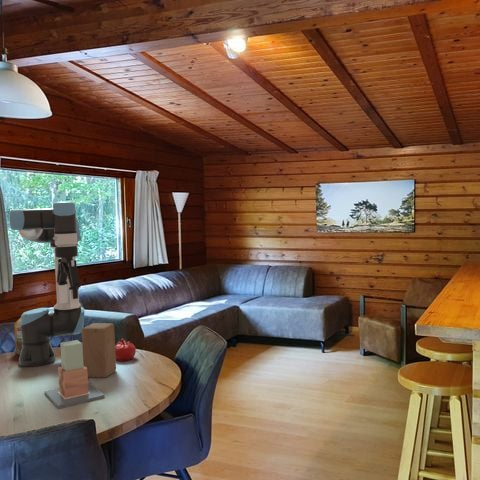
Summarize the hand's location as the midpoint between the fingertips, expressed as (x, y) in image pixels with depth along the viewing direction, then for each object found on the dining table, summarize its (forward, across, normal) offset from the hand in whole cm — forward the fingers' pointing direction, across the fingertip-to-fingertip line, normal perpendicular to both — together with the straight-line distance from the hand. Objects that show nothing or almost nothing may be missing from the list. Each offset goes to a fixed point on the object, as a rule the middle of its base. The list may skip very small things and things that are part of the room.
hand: (69, 305), depth 183 cm
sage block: (+22, 0, 0) cm, 22 cm away
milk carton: (+33, -72, +2) cm, 79 cm away
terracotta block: (+31, 0, 0) cm, 31 cm away
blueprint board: (+33, 0, 0) cm, 33 cm away
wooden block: (+33, -18, +16) cm, 41 cm away
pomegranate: (+33, -32, +32) cm, 56 cm away
